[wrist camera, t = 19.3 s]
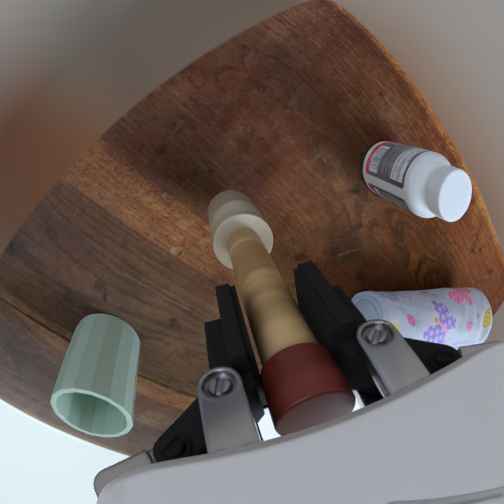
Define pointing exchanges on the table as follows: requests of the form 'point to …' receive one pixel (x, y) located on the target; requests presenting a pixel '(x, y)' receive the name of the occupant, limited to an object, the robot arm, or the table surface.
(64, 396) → the cup
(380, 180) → the pill bottle
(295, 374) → the wooden rod
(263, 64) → the table surface
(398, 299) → the pencil case
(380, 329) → the robot arm
